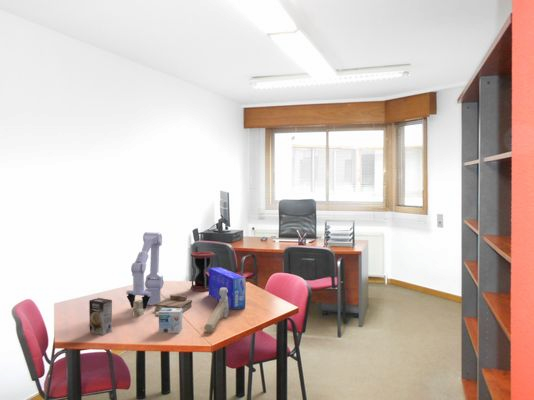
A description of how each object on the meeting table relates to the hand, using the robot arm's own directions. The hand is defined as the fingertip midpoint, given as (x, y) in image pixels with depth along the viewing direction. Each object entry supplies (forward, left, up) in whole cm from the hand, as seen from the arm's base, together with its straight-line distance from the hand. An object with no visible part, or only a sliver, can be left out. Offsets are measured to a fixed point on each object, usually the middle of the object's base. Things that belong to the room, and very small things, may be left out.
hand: (138, 308), depth 246 cm
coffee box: (-2, -30, -4) cm, 30 cm away
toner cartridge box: (+36, +41, -4) cm, 55 cm away
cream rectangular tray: (+13, +13, -4) cm, 19 cm away
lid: (+13, +16, -1) cm, 21 cm away
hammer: (+48, -1, -4) cm, 48 cm away
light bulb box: (+30, -18, -4) cm, 35 cm away
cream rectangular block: (0, 0, -4) cm, 4 cm away
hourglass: (+8, +66, -4) cm, 67 cm away
